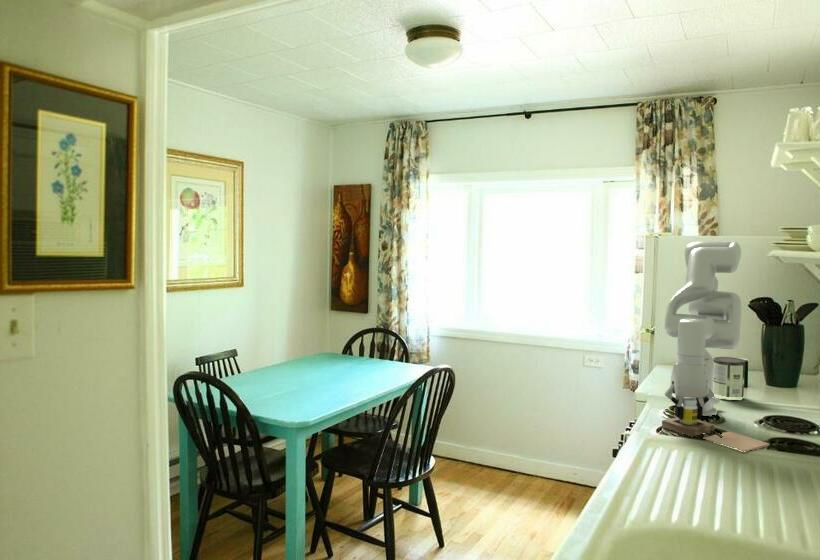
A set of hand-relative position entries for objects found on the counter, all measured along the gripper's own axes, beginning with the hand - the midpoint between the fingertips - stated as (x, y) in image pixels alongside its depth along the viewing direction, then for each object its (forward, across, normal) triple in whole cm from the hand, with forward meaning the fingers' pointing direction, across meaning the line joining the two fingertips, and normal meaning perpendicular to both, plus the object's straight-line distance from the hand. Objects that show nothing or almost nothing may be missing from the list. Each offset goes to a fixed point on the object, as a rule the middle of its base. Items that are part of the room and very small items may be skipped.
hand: (688, 417), depth 183 cm
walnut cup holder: (+4, 0, +1) cm, 4 cm away
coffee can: (+5, -30, -36) cm, 47 cm away
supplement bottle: (+3, 0, 0) cm, 3 cm away
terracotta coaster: (+3, -8, +12) cm, 15 cm away
